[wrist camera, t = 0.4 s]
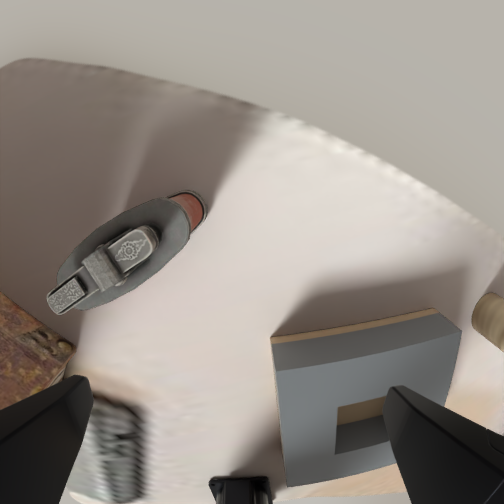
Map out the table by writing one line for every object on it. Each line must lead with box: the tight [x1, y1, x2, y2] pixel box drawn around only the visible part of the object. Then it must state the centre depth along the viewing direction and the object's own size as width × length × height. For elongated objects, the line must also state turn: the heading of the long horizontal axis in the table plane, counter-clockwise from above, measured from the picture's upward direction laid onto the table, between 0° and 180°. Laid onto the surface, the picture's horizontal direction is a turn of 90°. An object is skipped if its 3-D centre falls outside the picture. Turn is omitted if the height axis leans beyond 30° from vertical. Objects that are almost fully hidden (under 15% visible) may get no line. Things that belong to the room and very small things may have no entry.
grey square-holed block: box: [270, 308, 462, 487], centre depth 23 cm, size 14×14×4 cm
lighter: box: [47, 190, 207, 315], centre depth 16 cm, size 8×3×10 cm, turn 121°
